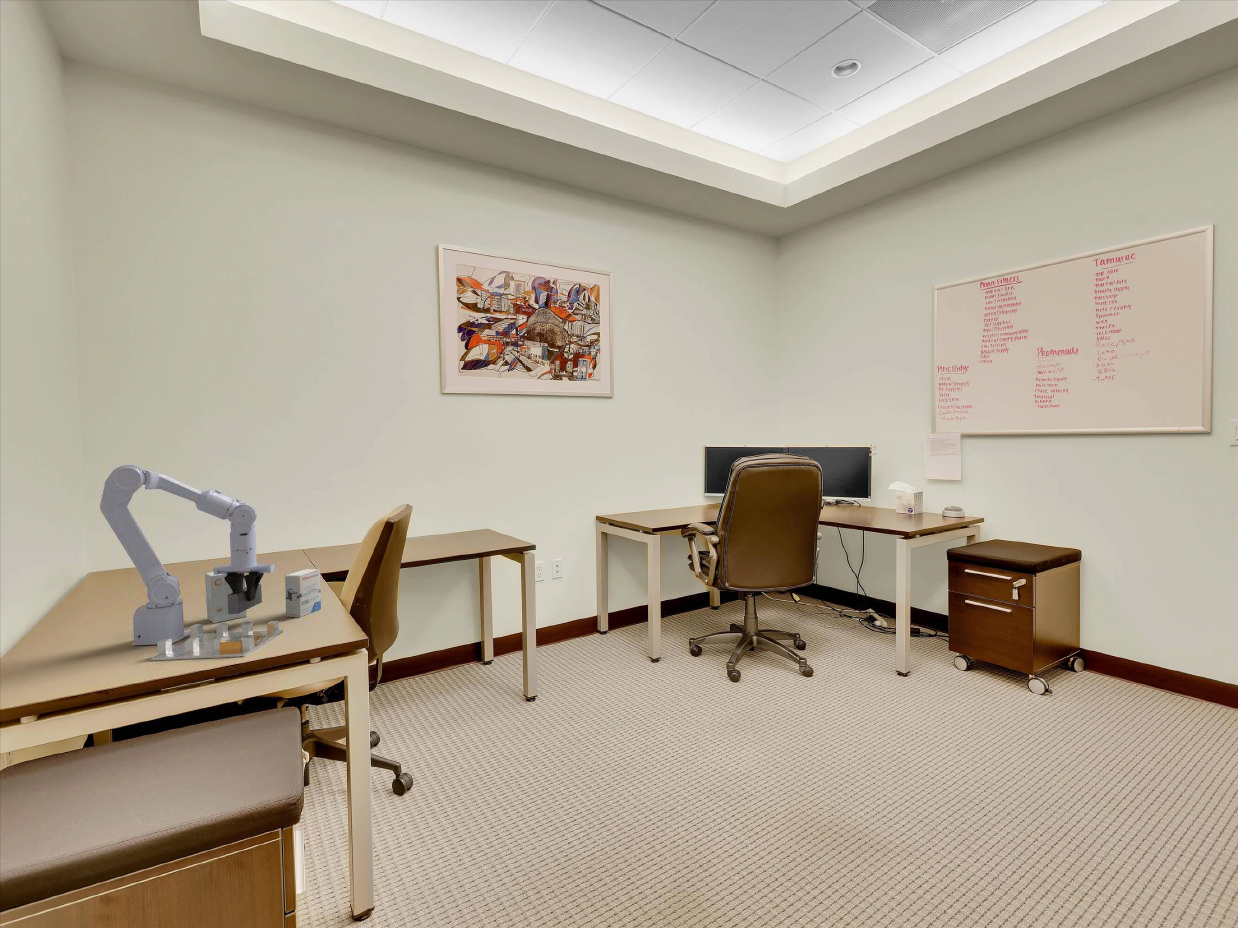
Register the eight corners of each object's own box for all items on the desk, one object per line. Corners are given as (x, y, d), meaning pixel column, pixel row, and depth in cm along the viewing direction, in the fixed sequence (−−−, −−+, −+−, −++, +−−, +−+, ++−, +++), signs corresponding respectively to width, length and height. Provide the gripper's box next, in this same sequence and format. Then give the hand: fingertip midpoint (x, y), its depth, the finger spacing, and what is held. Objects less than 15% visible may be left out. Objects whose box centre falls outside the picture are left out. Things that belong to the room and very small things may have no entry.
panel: (228, 614, 150) (227, 594, 150) (252, 602, 161) (251, 584, 161) (238, 613, 150) (237, 594, 150) (261, 602, 161) (261, 584, 161)
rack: (151, 660, 131) (150, 644, 131) (201, 635, 148) (200, 621, 148) (244, 656, 132) (243, 640, 132) (283, 632, 149) (282, 618, 149)
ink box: (307, 608, 172) (305, 568, 171) (322, 609, 171) (321, 568, 170) (285, 617, 163) (283, 575, 163) (301, 617, 162) (299, 575, 162)
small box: (240, 612, 169) (238, 567, 168) (247, 616, 165) (245, 570, 164) (206, 619, 163) (204, 572, 162) (213, 623, 159) (210, 575, 158)
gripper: (279, 545, 160) (281, 595, 160) (224, 547, 159) (226, 597, 159) (265, 550, 153) (267, 602, 153) (207, 552, 152) (209, 604, 152)
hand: (245, 600), depth 156 cm, fingers closed on panel, 2 cm apart
